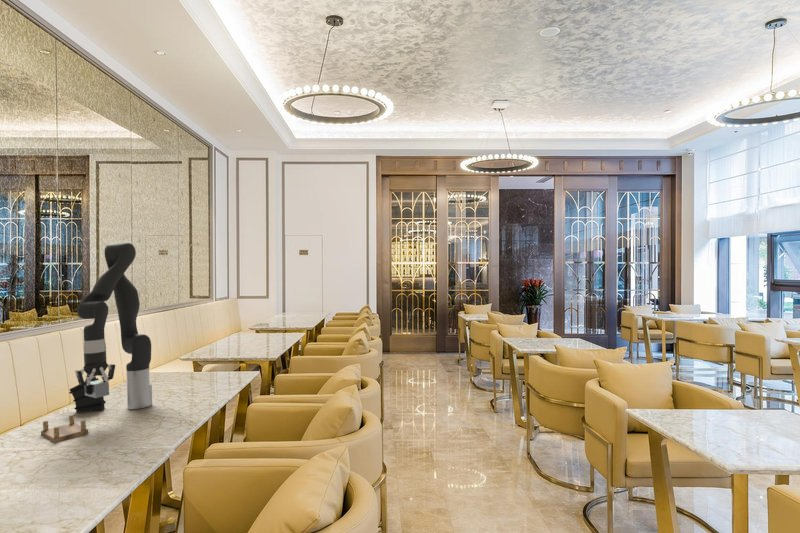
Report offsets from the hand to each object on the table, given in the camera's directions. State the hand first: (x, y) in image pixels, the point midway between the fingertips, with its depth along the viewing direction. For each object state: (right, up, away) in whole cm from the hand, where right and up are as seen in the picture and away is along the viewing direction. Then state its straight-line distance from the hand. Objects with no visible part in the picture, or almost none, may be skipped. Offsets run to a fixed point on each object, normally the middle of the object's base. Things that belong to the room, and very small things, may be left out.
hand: (96, 392), depth 189 cm
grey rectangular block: (0, -1, 0) cm, 1 cm away
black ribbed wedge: (-18, -14, +22) cm, 32 cm away
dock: (-7, -14, -9) cm, 18 cm away
